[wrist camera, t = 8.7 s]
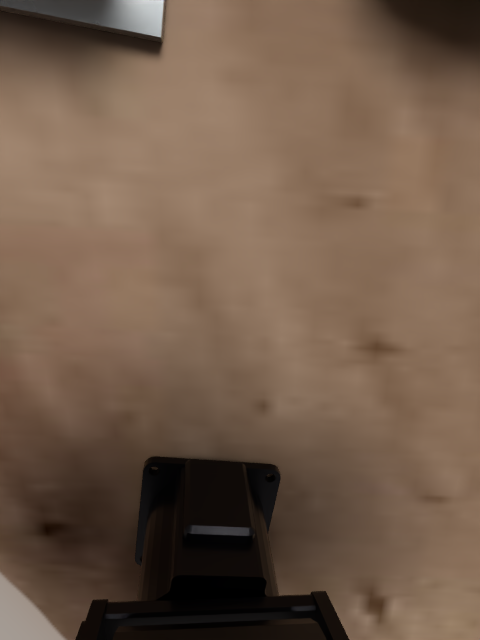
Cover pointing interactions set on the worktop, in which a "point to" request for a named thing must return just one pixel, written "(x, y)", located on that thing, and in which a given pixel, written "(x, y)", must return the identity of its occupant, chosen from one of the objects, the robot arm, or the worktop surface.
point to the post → (98, 14)
